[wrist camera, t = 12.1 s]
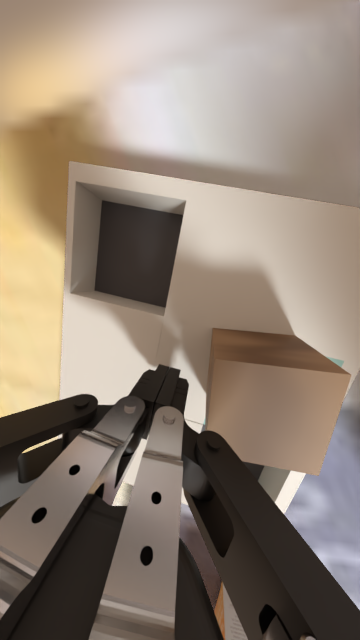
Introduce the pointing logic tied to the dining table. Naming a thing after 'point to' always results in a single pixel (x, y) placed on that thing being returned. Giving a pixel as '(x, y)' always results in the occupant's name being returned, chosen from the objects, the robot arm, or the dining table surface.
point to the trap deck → (199, 285)
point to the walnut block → (273, 398)
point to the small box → (228, 617)
